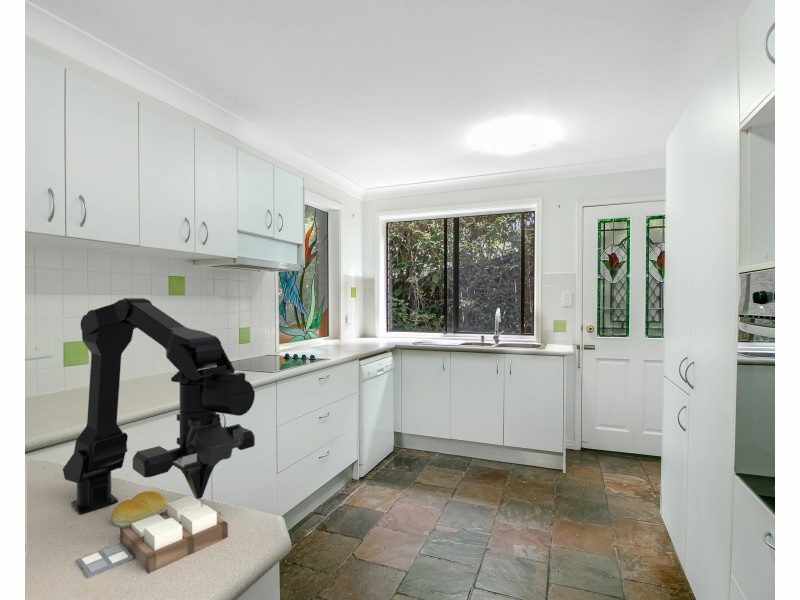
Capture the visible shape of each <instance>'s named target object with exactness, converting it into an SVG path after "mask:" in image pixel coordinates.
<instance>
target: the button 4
mask: <svg viewBox="0 0 800 600" xmlns="http://www.w3.org/2000/svg"><path fill="white" fill-rule="evenodd" d="M217 516H218V513H217V511H216V510H214V509H213V508H211V507H210V506H208V505H207V504H203V505H202V506H200V507H198V508H195V509H192V510H190V511H187V512H184V513H182V514H181V525H182V528H183V529H184V530H185V531H187V532H188V533H189V534H190V535H193V534H195V533H198V532H200V531H203V530H205V529H207V528H210V527H212V526H214V525H217Z"/></svg>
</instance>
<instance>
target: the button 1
mask: <svg viewBox="0 0 800 600" xmlns="http://www.w3.org/2000/svg"><path fill="white" fill-rule="evenodd" d="M163 520H165V519H164V518H162V517H161V516H160V515H159V514H156V515H154V516H151V517H148V518H145V519H143V520H140V521H137V522H134V523H132V531H133V532H134V533H135V534H136V535H137V536H138V537H139V538H140V537H143V536H144V528H145V527H147V526H150V525H153V524H155V523H158V522H161V521H163Z"/></svg>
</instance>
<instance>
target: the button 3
mask: <svg viewBox="0 0 800 600" xmlns="http://www.w3.org/2000/svg"><path fill="white" fill-rule="evenodd" d="M201 505H202V501H201V500H199V499H196V498H195V497H194V495H187V496H185V497H182V498H179V499H175V500H173V501H171V502H167V509H166V511H167V515H168V517H169V518H171V517H172V518H173V519H174V520H176V521H177V522H181V514H182V513H184V512H187V511H190V510H192V509H195V508H198V507H200V506H201Z"/></svg>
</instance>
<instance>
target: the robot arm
mask: <svg viewBox="0 0 800 600" xmlns="http://www.w3.org/2000/svg"><path fill="white" fill-rule="evenodd" d="M80 329H81V340H82V342H83V343H84V345H85V346H86V348H87V349H88V351H89V352H90V353H91V355H90V356H91V357H90V358H91V359H90V372H89V373H90V374H89V386H88V390H89V391H88V403H87V404H88V406H87V418H86V419H87V420H86V421H87V422H86V426H85V427H84V428H83V430H82V431H81V433H80V434H79V435H78V437H77V438H76V439H75V445H74V450H73V454H72V455H71V456H70V457H69V459H68V461H67V462H66V463H65V465H64V466H63V468H62V473H63V477H64V480H66V481H68V482H73V483H75V484H76V499H75V500H73V501H71V502H70V504H71V506H72V507H73V509H74V510H75V511H76V512H77V513H78V514H79V515H83V514H84V513H88V512H91V511H94V510H98V509H102V508H105V507H107V506H110V505H113V504H114V505H115V504H116V503H118V501H119V500H118V498H117V497H116V496H115V495H113V494H112V471H115V470H118V469H122V468H123V465H124V461H125V457H126V453H127V452H128V437H129V435H128V434H127V433H126V432H123V431H122V429H121V428H120V426H119V425H118V411H119V396H120V394H119V393H120V382H121V381H120V380H121V366H122V355H123V353H124V351H125V350H126V349H127V348H128V346H129V345H130V344H131V341H132V340H133V335H134V330H135V329H139V330H140V331H141V332H142V333H143V334H145V335H146V336H148V337H149V338H151V339H152V340H153V341H155V342H156V343H157V344H159V345H160V346H161V347H163V348H164V350H165V355H166V358H167V360H168V361H169V362H170V363H171V364H172V365H173V366H174V367H175V368H176V369H177V370H178V371H177V372H176V373H175V374H174V375H173V376H172V377H171V378H170V381H171V382H173V383H179V413H177V414H176V421H178V422H179V437H176V445H179V447H176V448H173V449H170V450H169V449H168V450H167V449H165V448H163V447H162V446H161V445H158V446H154V447H150V448H145V449H141V450H137V451H136V452H135V454H134V455H133V458H132V470H134V471H135V472H137V473H138V474H139V475H140V476H142V477H143V478H153V477H156V476H159V475H162V474H166V473H168V472H169V471H170V470H171V468H172V467H175V468H177V469H179V471H181V472H182V474H183V477H184V478H185V480H186V482H187V484H188V487H189V489H190V491H191V492H192V494H193V495H192V496H193V497H195V498H196V499H198V500H199V499H202V498H203V497H204V493H205V491H206V488H207V486H208V483H209V480H210V478H211V474H212V472H213V470H214V468H215V466H216V465H218V464H219V462H221V461H223V460H228V459H230V458H231V457H232V453H233V450H234V449H235V448H237V450H240V451H243V450H246V449H250V448H254V447H255V445H256V438H255V434H254V432H253V431H252V430H251V429H248V428H245V427H242V425H241V424H240V423H237V424H232V425H229V426H223V425H222V423H221V417H220V416H221V415H220V414H225V415H231V416H235V417H238V416H244V415H245V414H247V413H248V412H249V411H250V410H251V408H252V406H253V405H254V401H255V397H256V394H255V390H254V388H253V385H252V383H251V382H250V381H248V380H246V373H245V372H235V371H236V370H235V368H234V366H233V365H232V364H233V363H232V362H231V360H230V359H229V357H228V355H227V354H226V351H225V349H224V348H223V346H222V342H221V340H220V339H219V338H218V337H217V336H216V335H213V334H212V333H208V332H205V331H202V330H197V329H194V328H193V329H192V328H189V327H186V326H185V325H183V324H181V323H180V322H179V321H177V320H176V319H174V318H173V317H171V316H170V315H168V314H167V313H166V312H163V310H161V309H159V308H158V307H156V306H155V305H153V303H152V302H151V300H150V299H147V298H145V297H141V298H140V297H134V298H133V297H129V298H127V297H125V298H122V299H119V300H117V301H116V302H114V303H112V304H108V305H105V306H102V307H99V308H95V309H90V310H89V311H87V313H86V314H84V315H83V316H82V318H81V320H80Z"/></svg>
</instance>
